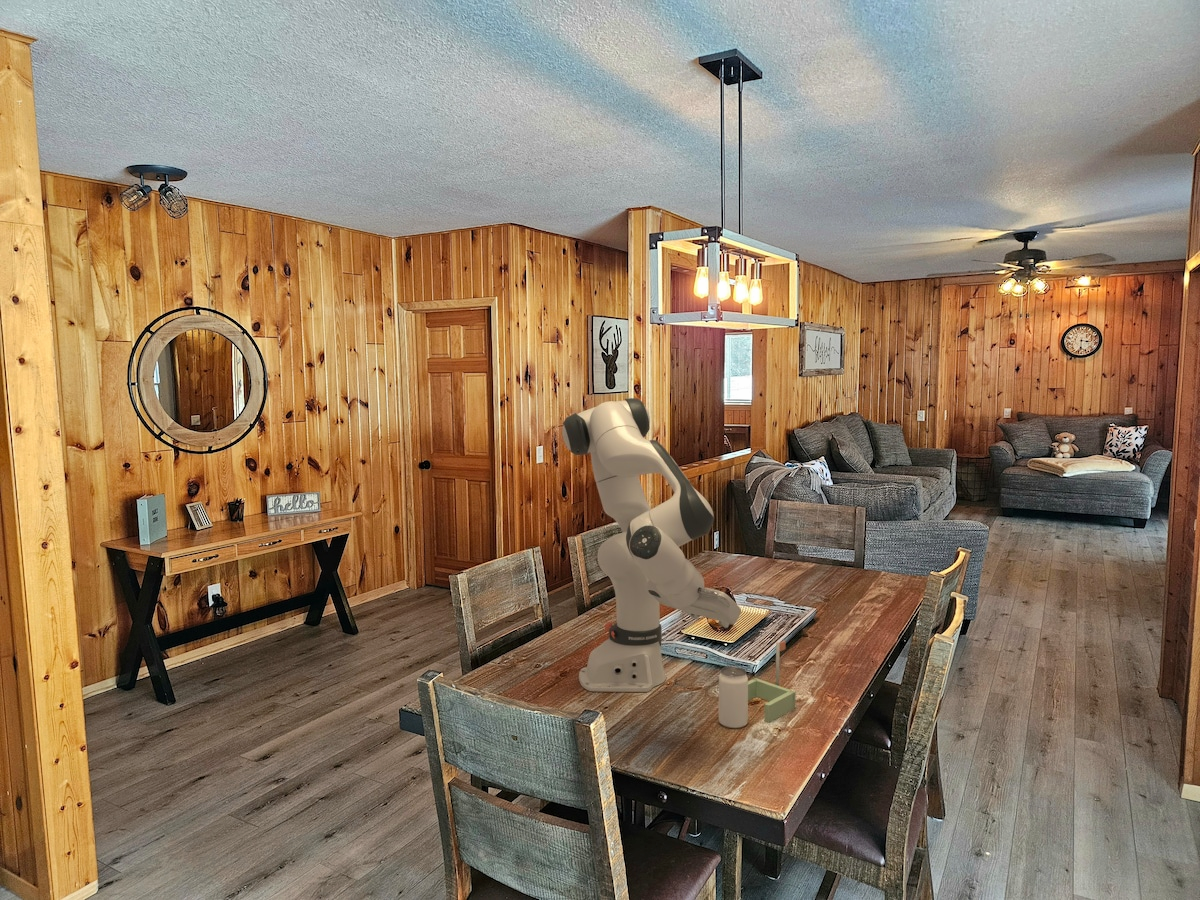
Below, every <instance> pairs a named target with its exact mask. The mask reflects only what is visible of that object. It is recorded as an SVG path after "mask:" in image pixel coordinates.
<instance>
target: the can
mask: <svg viewBox="0 0 1200 900" xmlns="http://www.w3.org/2000/svg"><path fill="white" fill-rule="evenodd" d="M748 678H749V677H748V676H747V671H746V670H745V669H744V668H742V667H739V666H726V667H722V668H721V669H720V674H719V675H718V722H719V724H720V725H721V726H723V727H725V728H728V729H741V728H744V727H745V726H747V724H748V719H749V718H748V717H749V716H748V715H749V714H748V711H749V700H748V681H749V679H748Z"/></svg>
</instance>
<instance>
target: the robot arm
mask: <svg viewBox="0 0 1200 900" xmlns="http://www.w3.org/2000/svg"><path fill="white" fill-rule="evenodd" d="M649 413H650V412H649V411H648V408H647V407H646V406H645V404H644V402H643V401H642V400H640V399H639V398H636V397H635V398H633V397H632V398H625V399H623V400H617V401H613V400H612V401H610V400H609V401H604V402H601V403H600V404H598V405H597V406H594V407H591V408H588V409H586V410H583V411H581V412H578V413H577V412H575V413H573V414H571V415H569V416H566V418H565V419H564V420H563V423H562V429H561V431H562V432H561V434H562V439H563V442H564V445H565V446H566V447H567V448H568V450H569V451H570V453H572V454H574V455H575V456H586V455H588V454H589V453H590V460H591V465H592V472H593V476H594V481H595V483H596V488H597V492H598V494H599V495H598V496H599V499H600V503H601V505H602V508H603V509H602V510H603V511H604V513H605V514H606V515H607V516H608V517H611V518H612V519H613V520H614V521H615V522H616V523H617V524H618V526H619V529H621V531H622V532H620V533H616V534H613V535H612V536H611V537H609V538H608V539H606V540H605V541H603V542H602V543H601V544H600V546H599V547H598V550H597V561H598V562H597V563H598V566H599V567H600V570H601V571H602V573H604V574H605V575H606V576H607V577H609V578H610V581H611V583H612V586H613V587H612V588H613V590H614V594H615V604H616V605H615V606H616V607H615V609H616V623H614V624H613V622H610V621H609V622H607V623H606V624H605V623H604V628H605V630H606V632H608V638H607V639H606V640H604V641H603V642H602V643H601V644H600V645H598V646H597V647H596V648H594V649H592V650H591V652H590V653H589V656H588V660H587V666H585V667H582V668H581V669H580V670H579V671H578V672H579V673H578V680H579V684H580V685H581V687H582V688H583V689H585V690H587V691H588V692H611V693H612V692H614V693H615V692H617V693H618V692H619V693H621V692H622V693H623V692H629V693H631V692H632V693H633V692H635V693H636V692H637V693H638V692H639V693H647V692H650V691H651V690H652V689H653V688H654V687H656V686H659V685H661V684H662V683H664V682H665V681H666V680H667V675H666V671H665V667H664V664H663V658H662V649H661V647H662V641H663V630H662V629H663V628H662V624H661V623H660V622H661V621H660V620H661V619H660V612H661V611H660V610H661V609H660V608H661V607H660V604H661V605H663V606H665V607H669V608H671V609H675V610H678V611H682V612H683V613H685V614H687V615H688V616H689V617H690V618H691V619H695V620H698V619H699V617H704V618H707V619H710V620H715V621H718V625H719V626H720V627H722V628H724V629H727V628H729V627H730V625H732V626H733V625H735V624H736V623H737V622H738V620H739V618H740V615H741V614H742V609H741V607H740V606H739V605H738V604H737V603H736V602H735V600H733V599H732V597H730V595H728V594H727V593H725V592H723V591H722V590H718V589H714V588H711V587H706V586H705V579H704V577H703V575H702V574H701V573H700V572H699V570H698V569H697V567H695V565H694V564H693V563H692V561H690V560H689V559H687V558H686V556H685V554H684V552H683V550H682V549H681V548H680V547H681V546H684V545H686V544H688V543H689V542H691V541H693V540H696V539H699V538H701V537H703V536H705V535H708V534H709V533H710V531H711V529H712V527H713V525H714V521H715V516H714V511H713V508H712V507H711V505H710V503H709V501H707V499H706V498H705V497H704V496H703V495H702V494H701V493H700V492H699V491H698V490H697V489H696V488H695V487H694V485H693V484H692V482H691V481H690V479H688V477H687V476H686V474H685V473H684V472H683V471H682V469H681V468H680V466H679V465H678V464H677V463H676V461H675V460H674V458H673V456H671V454H670V453H669V452H668V451H667V450H666V449H665V447H664V446H663V444H661V443H660V442H659V441H657V440H656V439H655V440H654V439H650V440H648V439H646V438H645V437H646V436H647V435H648V433H649V431H650V430H651V429H650V426H651V425H650V423H651V416H650V414H649ZM649 474H659V475H662V476H663V478H664V480H665V481H666V482H667V483H668V485H669V486H670V488H671V489H672V490H673V495H672V496H671V497H670V498H669V499H667V500H666V501H664V502H662V503H660V504H659V505H656V506H655V507H653V508H651V507H650V505H649V502H648V500H647V497H646V496H645V493H644V489H643V485H642V483H641V479H640V476H643V475H649Z"/></svg>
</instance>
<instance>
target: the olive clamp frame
mask: <svg viewBox="0 0 1200 900" xmlns="http://www.w3.org/2000/svg"><path fill="white" fill-rule="evenodd" d="M786 642H787V641H786V640H783V641H780V642H776V643H775V684H774V683H773V682H772V683H771V682H768V681H765V680H763V679H759V678H757V677H754V678H752V679H750V680H748V701H750V700H752V699H754V698H759V699H762V700H765V701H768V702H765V703H764V716H763V718H764V722H765V723H771V722H772V721H774V720H776V719H778V718H780V717H782V716H784V715H786V714H787V713H789V712H791V711H793V710H795V709H796V706H797V705H796V703H797V700H796V698H797V692H796V691H795V690H792V689H788V688H786V687H783V686H780V655H781V654H780V652H782V651H784V650H786ZM794 708H795V709H794Z"/></svg>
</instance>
